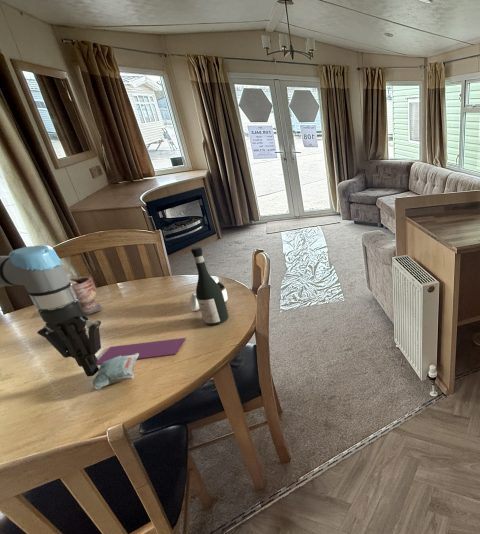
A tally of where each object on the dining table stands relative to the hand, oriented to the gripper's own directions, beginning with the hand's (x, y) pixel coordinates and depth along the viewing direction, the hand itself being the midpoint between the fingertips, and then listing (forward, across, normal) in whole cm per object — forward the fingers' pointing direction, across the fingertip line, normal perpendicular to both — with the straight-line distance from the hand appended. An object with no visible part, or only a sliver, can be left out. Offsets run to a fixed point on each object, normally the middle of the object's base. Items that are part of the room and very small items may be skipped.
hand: (93, 373), depth 98 cm
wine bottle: (+3, -24, -27) cm, 36 cm away
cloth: (+3, -6, -12) cm, 14 cm away
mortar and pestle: (+3, +27, -45) cm, 53 cm away
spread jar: (+3, -18, -39) cm, 43 cm away
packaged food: (+3, -6, -1) cm, 6 cm away
